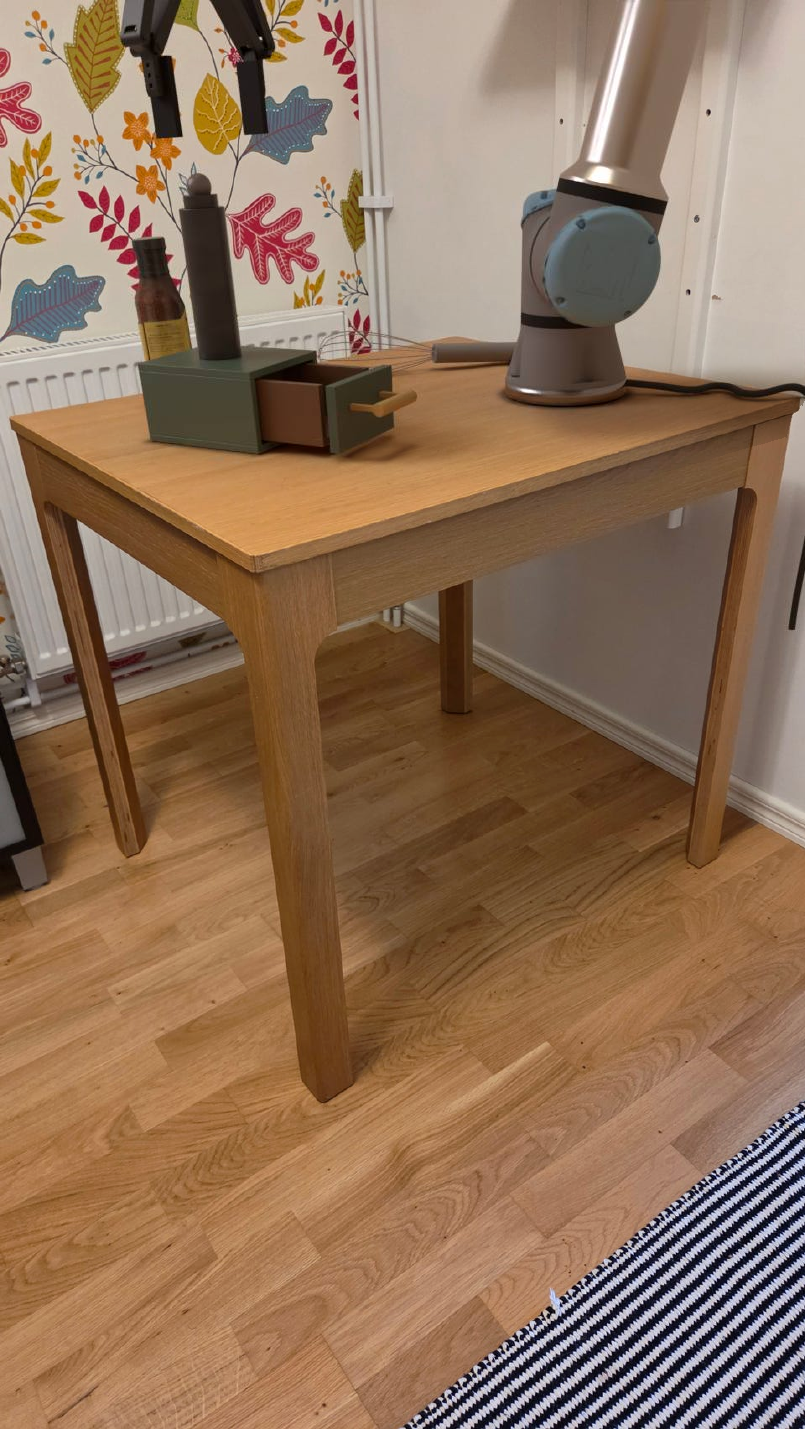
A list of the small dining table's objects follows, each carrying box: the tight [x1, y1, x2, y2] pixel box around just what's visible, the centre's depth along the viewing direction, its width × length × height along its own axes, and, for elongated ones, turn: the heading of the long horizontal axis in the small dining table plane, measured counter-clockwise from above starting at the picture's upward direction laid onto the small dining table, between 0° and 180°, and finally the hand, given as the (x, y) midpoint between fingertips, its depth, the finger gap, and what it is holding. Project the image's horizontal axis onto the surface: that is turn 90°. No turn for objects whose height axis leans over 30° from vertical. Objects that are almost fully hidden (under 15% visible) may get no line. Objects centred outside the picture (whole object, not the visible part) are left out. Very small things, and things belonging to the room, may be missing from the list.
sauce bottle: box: [131, 235, 193, 362], centre depth 126 cm, size 7×6×20 cm
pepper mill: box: [178, 172, 242, 360], centre depth 107 cm, size 5×5×18 cm
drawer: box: [255, 362, 418, 455], centre depth 108 cm, size 19×11×7 cm, turn 60°
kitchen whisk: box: [317, 330, 517, 374], centre depth 142 cm, size 6×34×6 cm, turn 105°
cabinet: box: [137, 345, 318, 455], centre depth 113 cm, size 16×13×9 cm
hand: (215, 136), depth 100 cm, fingers open, 13 cm apart
